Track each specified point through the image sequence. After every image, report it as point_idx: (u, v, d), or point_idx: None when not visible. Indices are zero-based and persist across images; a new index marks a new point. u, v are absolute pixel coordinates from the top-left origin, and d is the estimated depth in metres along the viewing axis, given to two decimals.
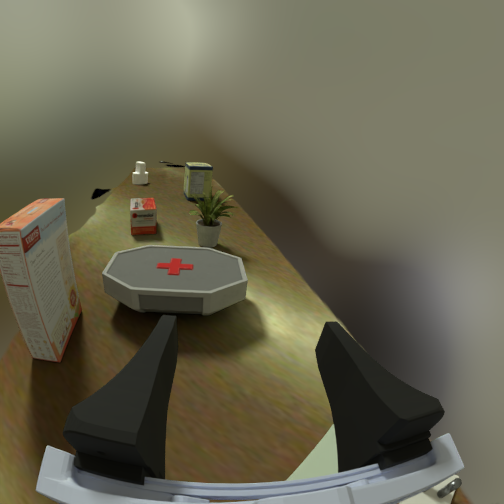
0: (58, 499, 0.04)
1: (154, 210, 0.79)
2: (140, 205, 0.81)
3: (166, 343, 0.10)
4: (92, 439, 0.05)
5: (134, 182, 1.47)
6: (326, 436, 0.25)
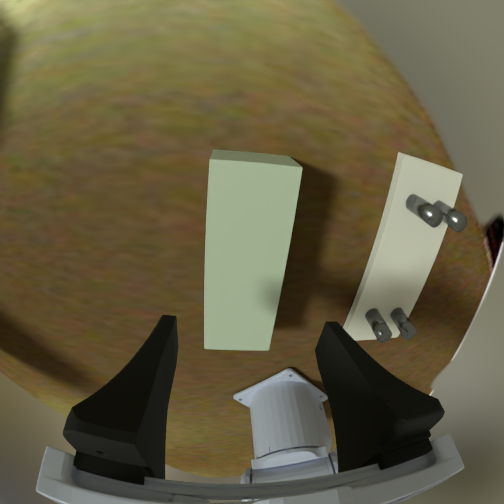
0: (58, 499, 0.04)
1: None
2: None
3: (166, 343, 0.10)
4: (92, 439, 0.05)
5: None
6: (211, 206, 0.16)
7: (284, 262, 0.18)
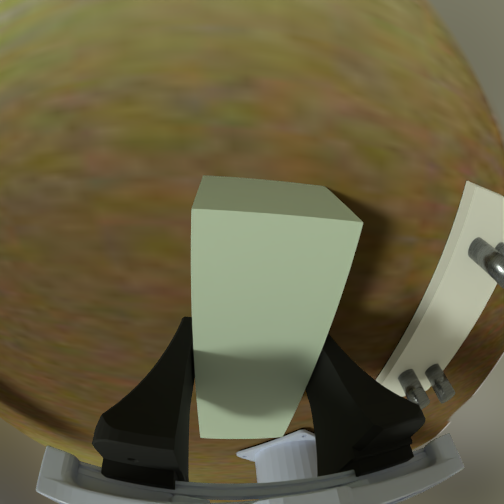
0: (58, 499, 0.04)
1: None
2: None
3: (191, 345, 0.10)
4: (126, 447, 0.05)
5: None
6: (198, 289, 0.09)
7: (315, 358, 0.11)
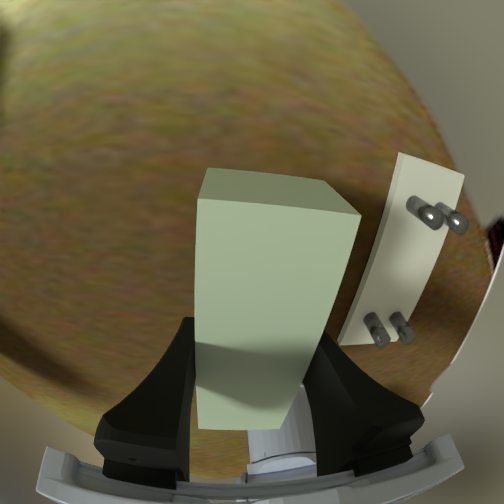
0: (58, 499, 0.04)
1: None
2: None
3: (192, 345, 0.10)
4: (128, 447, 0.05)
5: None
6: (202, 277, 0.09)
7: (313, 348, 0.11)
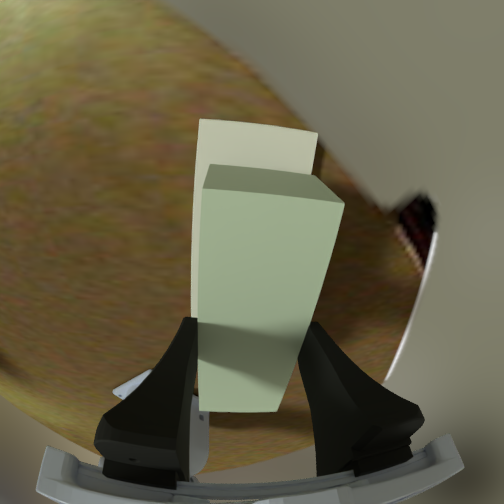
0: (58, 499, 0.04)
1: None
2: None
3: (192, 345, 0.10)
4: (128, 447, 0.05)
5: None
6: (204, 258, 0.10)
7: (306, 327, 0.13)
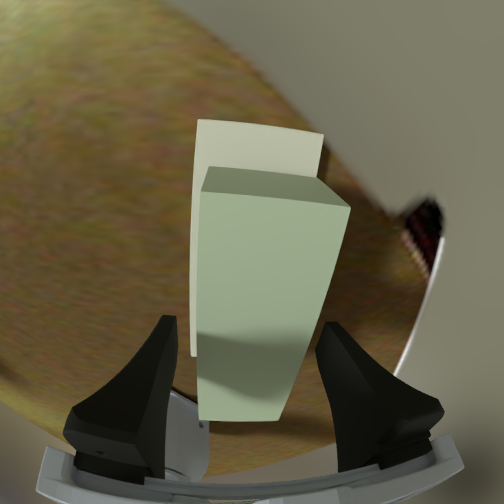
0: (58, 499, 0.04)
1: None
2: None
3: (166, 343, 0.10)
4: (92, 439, 0.05)
5: None
6: (203, 265, 0.10)
7: (309, 336, 0.12)
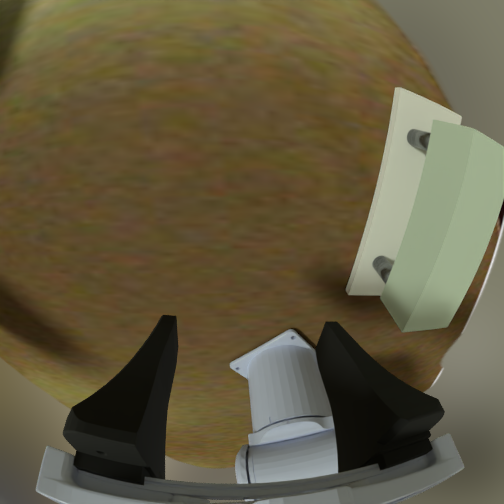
0: (58, 499, 0.04)
1: None
2: None
3: (166, 343, 0.10)
4: (92, 439, 0.05)
5: None
6: (467, 173, 0.12)
7: (490, 235, 0.14)
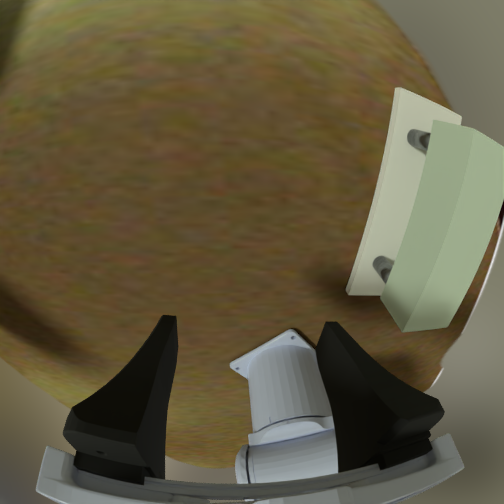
0: (58, 499, 0.04)
1: None
2: None
3: (166, 343, 0.10)
4: (92, 439, 0.05)
5: None
6: (467, 173, 0.12)
7: (490, 235, 0.14)
